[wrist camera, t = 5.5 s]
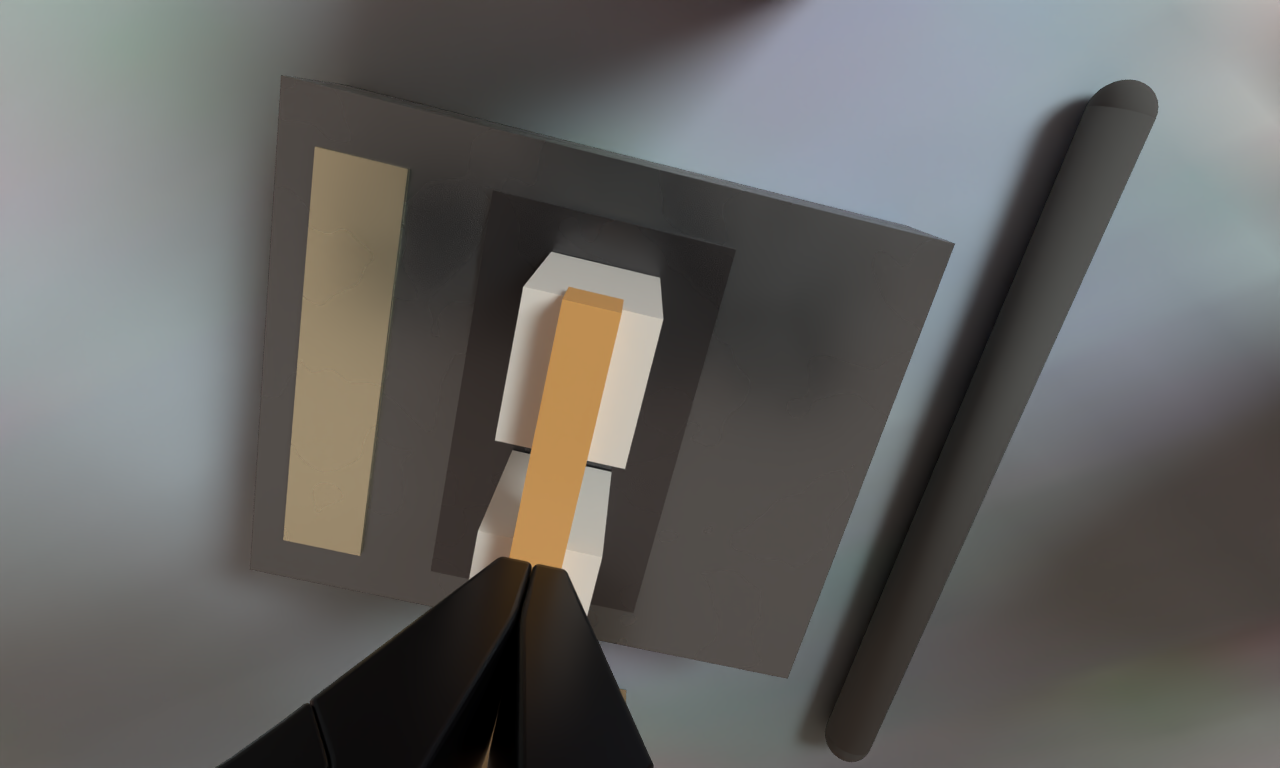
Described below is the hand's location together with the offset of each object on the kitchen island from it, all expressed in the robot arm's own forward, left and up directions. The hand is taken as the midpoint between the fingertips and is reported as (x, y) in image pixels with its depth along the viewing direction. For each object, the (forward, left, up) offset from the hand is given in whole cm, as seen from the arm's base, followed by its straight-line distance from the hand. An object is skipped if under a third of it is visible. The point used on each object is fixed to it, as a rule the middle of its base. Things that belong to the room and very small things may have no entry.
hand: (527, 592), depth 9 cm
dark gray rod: (-9, 0, -8) cm, 12 cm away
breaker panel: (0, 0, -8) cm, 8 cm away
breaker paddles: (0, 0, -5) cm, 5 cm away
